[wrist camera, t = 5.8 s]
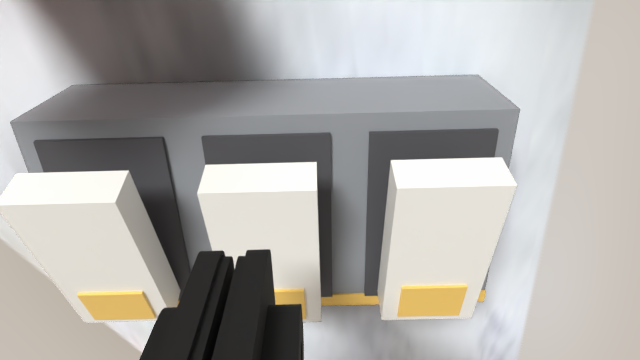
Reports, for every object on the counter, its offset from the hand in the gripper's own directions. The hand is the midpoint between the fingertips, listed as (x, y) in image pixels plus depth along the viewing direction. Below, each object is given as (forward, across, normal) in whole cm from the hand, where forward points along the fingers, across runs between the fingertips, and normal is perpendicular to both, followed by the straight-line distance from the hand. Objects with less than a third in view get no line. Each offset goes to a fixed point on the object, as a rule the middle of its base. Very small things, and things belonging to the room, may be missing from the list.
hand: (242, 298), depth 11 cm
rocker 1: (+5, +6, +2) cm, 8 cm away
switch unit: (+11, 0, +2) cm, 12 cm away
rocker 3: (+5, -6, +2) cm, 8 cm away
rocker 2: (+5, 0, +2) cm, 5 cm away
